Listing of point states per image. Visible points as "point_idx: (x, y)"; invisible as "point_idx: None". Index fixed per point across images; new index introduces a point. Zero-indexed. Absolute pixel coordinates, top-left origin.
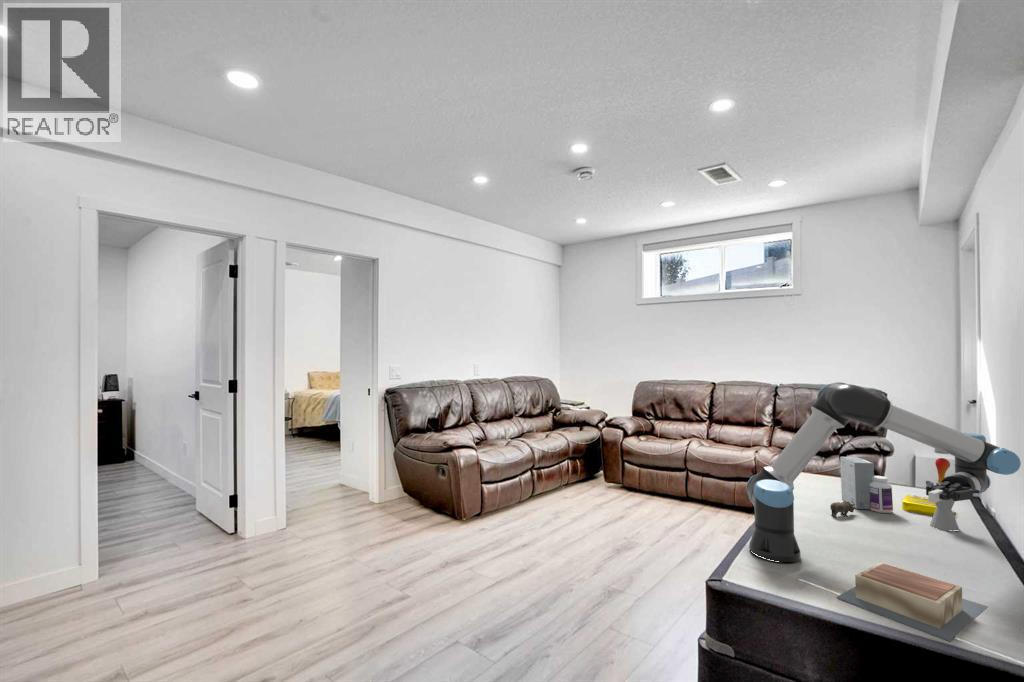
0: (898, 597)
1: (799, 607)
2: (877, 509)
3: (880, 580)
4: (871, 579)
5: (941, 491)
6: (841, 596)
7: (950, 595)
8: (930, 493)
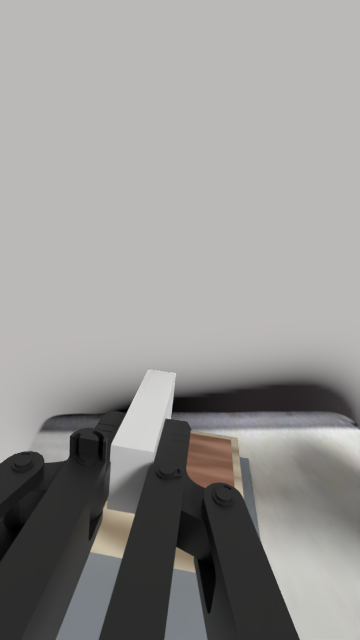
0: None
1: (256, 418)
2: None
3: (201, 438)
4: (213, 437)
5: (121, 424)
6: (245, 463)
7: None
8: (166, 376)
